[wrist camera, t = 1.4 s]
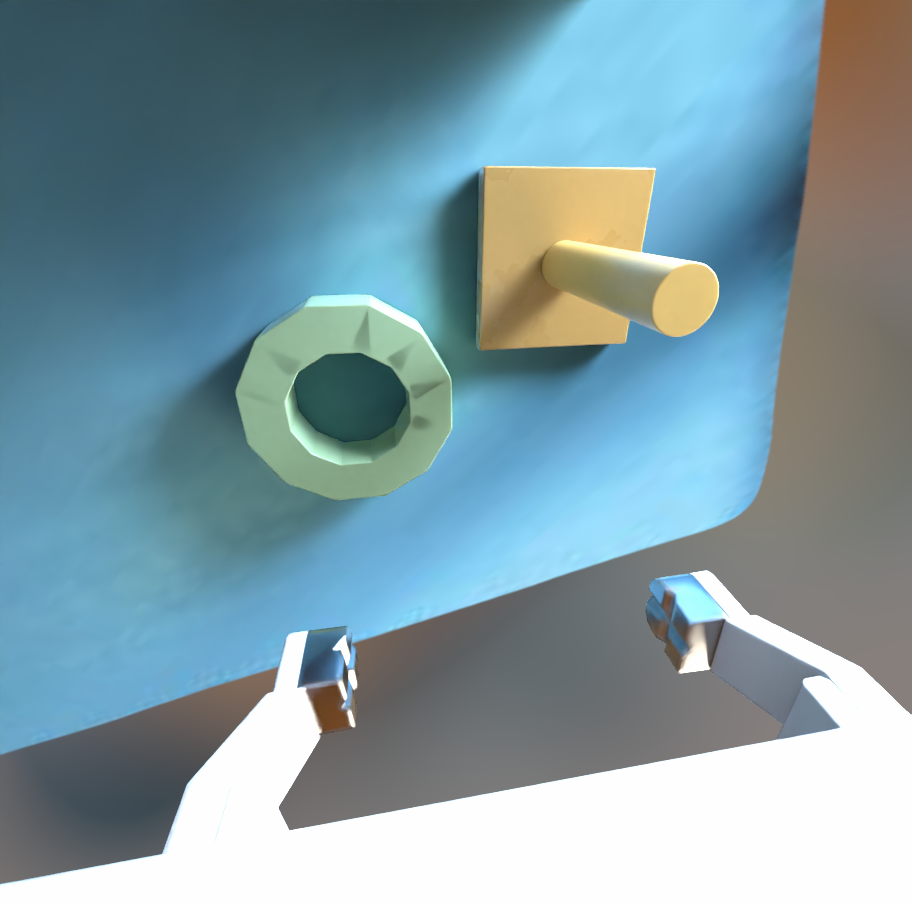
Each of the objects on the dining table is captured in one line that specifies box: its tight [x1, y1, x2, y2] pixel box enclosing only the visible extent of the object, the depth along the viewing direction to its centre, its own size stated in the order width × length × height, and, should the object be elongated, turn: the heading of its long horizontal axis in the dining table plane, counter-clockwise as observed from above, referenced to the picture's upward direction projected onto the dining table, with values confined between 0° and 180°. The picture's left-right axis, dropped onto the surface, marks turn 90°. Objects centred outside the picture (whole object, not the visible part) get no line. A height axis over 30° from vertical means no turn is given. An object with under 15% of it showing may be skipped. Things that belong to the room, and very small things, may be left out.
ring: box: [235, 294, 452, 500], centre depth 26 cm, size 11×11×3 cm
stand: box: [476, 166, 719, 350], centre depth 20 cm, size 9×9×12 cm
